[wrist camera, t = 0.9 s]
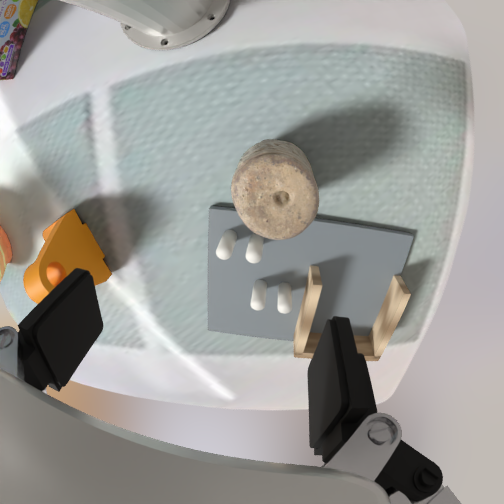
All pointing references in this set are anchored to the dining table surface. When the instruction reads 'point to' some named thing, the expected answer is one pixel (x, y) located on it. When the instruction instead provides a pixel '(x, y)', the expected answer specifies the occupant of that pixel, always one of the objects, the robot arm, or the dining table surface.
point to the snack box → (13, 32)
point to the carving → (275, 190)
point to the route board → (298, 275)
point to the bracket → (64, 257)
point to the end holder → (365, 344)
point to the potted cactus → (4, 252)
